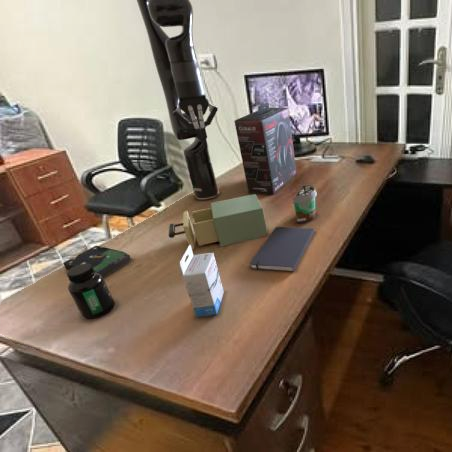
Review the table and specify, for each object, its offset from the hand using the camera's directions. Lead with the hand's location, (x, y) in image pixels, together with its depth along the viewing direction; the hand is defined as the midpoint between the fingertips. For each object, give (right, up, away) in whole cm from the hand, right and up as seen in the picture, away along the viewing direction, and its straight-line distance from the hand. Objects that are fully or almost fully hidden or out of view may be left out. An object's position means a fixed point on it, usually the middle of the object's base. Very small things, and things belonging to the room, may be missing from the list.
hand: (203, 140), depth 106 cm
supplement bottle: (-16, -46, -23) cm, 54 cm away
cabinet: (+10, -28, +8) cm, 31 cm away
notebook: (+25, -33, -3) cm, 42 cm away
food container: (+32, -23, +14) cm, 42 cm away
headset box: (+14, -8, +46) cm, 48 cm away
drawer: (-1, -30, +4) cm, 30 cm away
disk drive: (-28, -38, -4) cm, 47 cm away
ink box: (+11, -45, -23) cm, 52 cm away
